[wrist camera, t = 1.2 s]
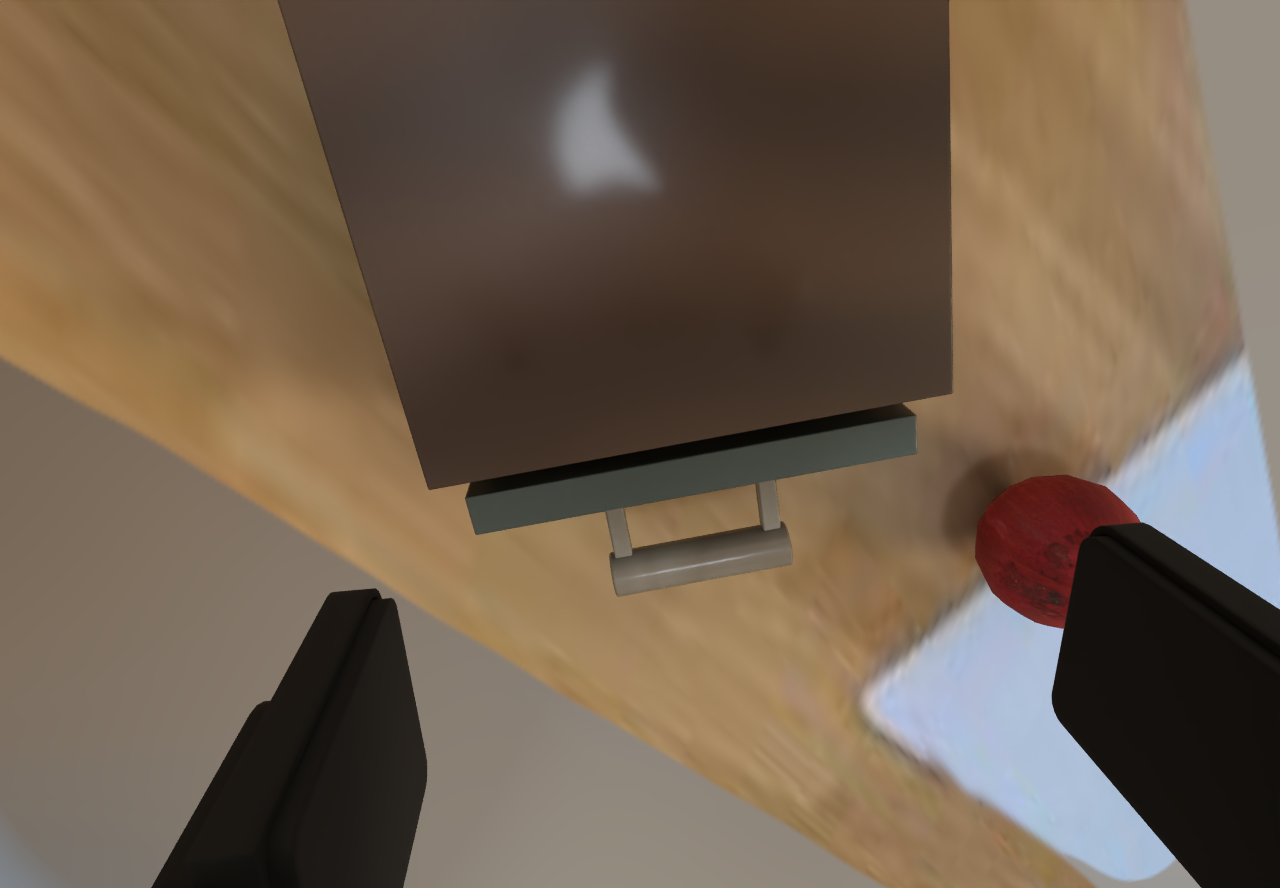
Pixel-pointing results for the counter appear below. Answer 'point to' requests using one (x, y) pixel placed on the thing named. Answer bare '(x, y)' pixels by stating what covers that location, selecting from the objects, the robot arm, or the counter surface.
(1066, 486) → the onion
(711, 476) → the drawer
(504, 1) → the cabinet
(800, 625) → the counter surface
